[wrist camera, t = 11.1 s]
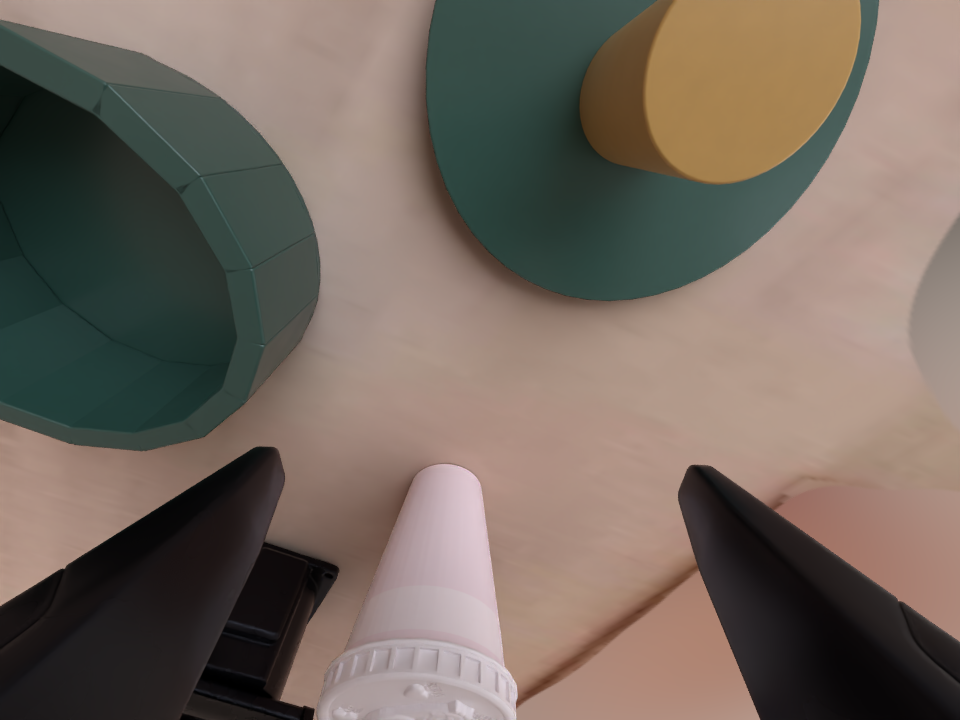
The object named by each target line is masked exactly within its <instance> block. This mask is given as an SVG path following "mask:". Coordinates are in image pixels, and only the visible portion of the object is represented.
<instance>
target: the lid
mask: <svg viewBox="0 0 960 720" xmlns="http://www.w3.org/2000/svg"><path fill="white" fill-rule="evenodd" d="M878 6H879V0H436V1H435V6H434V10H433V15H432V20H431V25H430V29H429V38H428V48H427V58H426V105H427V114H428V122H429V131H430V136H431V140H432V144H433V149H434V153H435V157H436V161H437V164H438V167H439V170H440V173H441V175H442V178H443V181H444V184H445V186H446V189H447V191H448V193H449V195H450V197H451V199H452V201H453V203H454V205H455V207H456V209H457V211H458V213H459V214H460V216H461V217H462V219H463V220H464V222H465V223H466V225H467V226H468V227H469V229H470V230H471V232H472V233H473V235H474V236H475V237H476V238H477V239H478V240H479V241H480V243H481V244H482V245H483V246H484V247H485V248H486V249H487V250H488V252H490V253H491V254H492V255H493V256H494V257H495V258H496V259H498V260H499V261H500V262H501V263H502V264H503V265H504V266H506V267H507V268H508V269H510V270H511V271H513V272H515V273H516V274H518V275H519V276H521V277H522V278H524V279H525V280H527V281H529V282H531V283H534V284H536V285H538V286H540V287H542V288H544V289H547V290H550V291H553V292H556V293H559V294H562V295H565V296H570V297H575V298H581V299H586V300H602V301H615V300H630V299H637V298H642V297H647V296H653V295H657V294H660V293H664V292H667V291H670V290H673V289H677V288H679V287H682V286H684V285H686V284H689V283H691V282H693V281H696V280H698V279H700V278H702V277H704V276H706V275H708V274H710V273H711V272H713V271H715V270H717V269H719V268H720V267H722V266H724V265H726V264H727V263H728V262H730V261H731V260H733V259H734V258H736V257H737V256H738V255H740V254H741V253H743V252H744V251H746V250H747V249H748V248H749V247H751V246H752V245H753V244H754V243H755V242H757V241H758V240H759V239H760V238H761V237H762V236H764V235H765V234H766V233H767V232H768V231H769V230H770V229H771V228H772V227H773V226H774V225H775V224H776V223H777V222H778V221H779V220H780V219H781V218H782V217H783V216H784V215H785V214H786V213H787V212H788V211H789V210H790V209H791V208H792V206H793V205H794V204H795V203H796V201H797V200H798V199H799V198H800V196H801V195H802V194H803V193H804V191H805V190H806V189H807V188H808V187H809V185H810V184H811V182H812V181H813V179H814V178H815V176H816V175H817V173H818V172H819V170H820V169H821V167H822V166H823V164H824V163H825V161H826V160H827V159H828V157H829V155H830V153H831V151H832V149H833V148H834V146H835V144H836V142H837V140H838V138H839V137H840V135H841V133H842V131H843V129H844V127H845V125H846V123H847V120H848V118H849V116H850V113H851V111H852V109H853V106H854V104H855V102H856V99H857V97H858V94H859V91H860V88H861V85H862V82H863V79H864V75H865V72H866V69H867V66H868V63H869V59H870V54H871V49H872V45H873V40H874V35H875V30H876V25H877V17H878Z"/></svg>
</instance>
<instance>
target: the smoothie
mask: <svg viewBox="0 0 960 720" xmlns="http://www.w3.org/2000/svg"><path fill="white" fill-rule="evenodd" d="M516 700H517V684H516V682H515V681H514V679H513V677H512V676H511V674H510V672H509V671H508V670H507V669H506V668H505V665H504V657H503V648H502V639H501V631H500V624H499V618H498V610H497V603H496V595H495V587H494V580H493V572H492V565H491V557H490V549H489V542H488V534H487V527H486V519H485V511H484V504H483V496H482V489H481V485H480V482H479V480H478V479H477V478H476V476H475V475H474V474H472V473H471V472H470V471H468V470H466V469H465V468H462V467H460V466H456V465H451V464H437V465H432V466H429V467H426V468H424V469H423V470H421V471H420V472H419V473H418V474H417V475H416V476H415V477H414V479H413V481H412V483H411V486H410V488H409V491H408V493H407V496H406V498H405V501H404V503H403V506H402V508H401V511H400V513H399V516H398V518H397V521H396V523H395V526H394V528H393V530H392V533H391V535H390V538H389V540H388V543H387V545H386V548H385V550H384V553H383V555H382V558H381V560H380V563H379V565H378V568H377V570H376V573H375V575H374V578H373V580H372V583H371V585H370V588H369V590H368V593H367V595H366V598H365V600H364V603H363V605H362V608H361V610H360V612H359V614H358V617H357V619H356V622H355V625H354V627H353V630H352V632H351V635H350V638H349V640H348V643H347V645H346V648H345V651H344V653H343V654H341V655H340V656H339V657H337V658H336V659H334V660H333V661H332V663H331V664H330V666H329V668H328V669H327V671H326V672H325V680H324V686H323V689H322V692H321V696H320V699H319V702H318V705H317V717H318V720H517V718H516Z"/></svg>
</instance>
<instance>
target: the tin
mask: <svg viewBox="0 0 960 720" xmlns="http://www.w3.org/2000/svg"><path fill="white" fill-rule="evenodd" d="M319 286H320V258H319V251H318V243H317V239H316V235H315V231H314V228H313V224H312V220H311V218H310V215H309V213H308V210H307V207H306V205H305V202H304V200H303V198H302V196H301V194H300V192H299V190H298V188H297V186H296V184H295V182H294V180H293V179H292V177H291V175H290V174H289V172H288V171H287V169H286V168H285V166H284V165H283V163H282V162H281V160H280V159H279V157H278V156H277V154H276V153H275V152H274V150H273V149H272V148H271V147H270V146H269V144H268V143H267V142H266V141H265V139H264V138H263V137H262V136H261V135H260V133H259V132H258V131H257V130H256V129H255V128H254V127H253V126H252V125H251V124H250V123H249V122H248V121H247V120H246V119H245V118H244V117H243V116H242V115H241V114H240V113H239V112H237V111H236V110H235V109H234V108H232V107H231V106H230V105H229V104H227V102H226V101H225V100H223V99H222V98H221V97H219V96H218V95H216V94H215V93H213V92H212V91H210V90H209V89H207V88H206V87H204V86H203V85H201V84H200V83H198V82H196V81H195V80H193V79H192V78H190V77H188V76H186V75H184V74H182V73H180V72H178V71H176V70H174V69H172V68H170V67H168V66H166V65H164V64H161V63H159V62H158V61H156V60H154V59H152V58H151V57H149V56H147V55H144V54H142V53H139V52H135V51H130V50H126V49H122V48H118V47H114V46H109V45H105V44H101V43H97V42H92V41H88V40H84V39H80V38H76V37H71V36H67V35H63V34H59V33H55V32H50V31H46V30H42V29H38V28H34V27H29V26H25V25H21V24H17V23H13V22H8V21H4V20H0V419H1V420H3V421H6V422H9V423H12V424H15V425H18V426H21V427H24V428H26V429H29V430H32V431H35V432H38V433H41V434H44V435H46V436H49V437H52V438H55V439H58V440H61V441H64V442H67V443H69V444H74V445H81V446H92V447H102V448H113V449H123V450H134V451H148V450H152V449H156V448H160V447H165V446H169V445H173V444H177V443H182V442H186V441H190V440H194V439H199V438H202V437H205V436H206V435H207V434H208V433H210V432H211V431H212V430H213V429H215V428H216V427H217V426H218V425H219V424H221V423H222V422H223V421H224V420H225V419H227V418H228V417H229V416H230V415H232V414H233V413H234V412H235V411H236V410H238V409H239V408H240V407H241V406H242V405H244V404H245V403H246V402H247V401H248V399H249V398H250V397H251V396H252V395H253V394H254V393H255V392H256V390H257V389H258V388H259V387H260V386H261V385H262V384H263V383H264V381H265V380H266V379H267V378H268V377H269V376H270V375H271V374H272V372H273V371H274V370H275V369H276V368H277V367H278V366H279V365H280V363H281V362H282V361H283V360H284V359H285V358H286V357H287V356H288V354H289V353H290V352H291V351H292V350H293V349H294V348H295V347H296V345H297V344H298V343H299V342H300V341H301V339H302V336H303V334H304V331H305V330H306V328H307V326H308V324H309V322H310V320H311V317H312V315H313V313H314V309H315V306H316V303H317V299H318V293H319Z"/></svg>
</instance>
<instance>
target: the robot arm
mask: <svg viewBox="0 0 960 720" xmlns="http://www.w3.org/2000/svg"><path fill="white" fill-rule="evenodd" d="M284 482H285V473H284V469H283V466H282V462H281V458H280V454H279V451H278V450H277V448H275V447H262V446H259V447H255V448H253V449H251V450H250V451H248V452H247V453H245V454H243V455H242V456H240V457H239V458H237V459H235V460H234V461H232V462H231V463H229V464H227V465H226V466H224V467H223V468H221V469H219V470H218V471H216V472H215V473H213V474H212V475H210V476H208V477H207V478H205V479H204V480H202V481H200V482H199V483H197V484H196V485H194V486H192V487H191V488H189V489H188V490H186V491H184V492H183V493H181V494H180V495H178V496H176V497H175V498H173V499H172V500H170V501H168V502H167V503H165V504H164V505H162V506H160V507H159V508H157V509H156V510H154V511H152V512H151V513H149V514H148V515H146V516H145V517H143V518H141V519H140V520H138V521H137V522H135V523H133V524H132V525H130V526H129V527H127V528H125V529H124V530H122V531H121V532H119V533H117V534H116V535H114V536H113V537H111V538H109V539H108V540H106V541H105V542H103V543H101V544H100V545H98V546H97V547H95V548H93V549H92V550H90V551H89V552H87V553H85V554H84V555H82V556H81V557H79V558H77V559H76V560H74V561H73V562H71V563H69V564H68V565H67V566H66V568H65V569H60V570H58V571H57V572H55V573H53V574H52V575H50V576H49V577H47V578H45V579H44V580H42V581H41V582H39V583H37V584H36V585H34V586H33V587H31V588H29V589H28V590H26V591H24V592H23V593H21V594H19V595H18V596H16V597H15V598H13V599H11V600H10V601H8V602H6V603H5V604H3V605H1V606H0V720H313V716H314V708H310V707H307V706H303V707H299V706H296V705H292V704H289V703H286V702H282V701H279V700H280V698H281V695H282V692H283V689H284V686H285V684H286V681H287V678H288V675H289V673H290V670H291V667H292V664H293V662H294V659H295V656H296V653H297V650H298V648H299V645H300V642H301V639H302V637H303V634H304V631H305V628H306V626H307V624H308V622H309V621H310V619H311V618H312V616H313V615H314V613H315V612H316V610H317V608H318V607H319V605H320V604H321V602H322V601H323V599H324V598H325V596H326V594H327V593H328V591H329V590H330V588H331V587H332V585H333V584H334V582H335V580H336V579H337V576H338V573H339V568H338V567H337V566H334V565H332V564H329V563H326V562H323V561H320V560H317V559H314V558H311V557H308V556H305V555H302V554H299V553H296V552H293V551H289V550H286V549H283V548H280V547H277V546H274V545H271V544H268V543H265V542H264V540H265V537H266V534H267V531H268V529H269V526H270V523H271V520H272V517H273V514H274V512H275V509H276V506H277V503H278V500H279V498H280V495H281V492H282V489H283V486H284ZM678 501H679V505H680V508H681V511H682V515H683V518H684V522H685V525H686V528H687V532H688V535H689V538H690V542H691V545H692V549H693V552H694V555H695V559H696V562H697V565H698V568H699V571H700V573H701V576H702V578H703V581H704V584H705V586H706V588H707V591H708V593H709V596H710V598H711V600H712V603H713V605H714V608H715V610H716V613H717V615H718V618H719V620H720V622H721V625H722V627H723V630H724V632H725V635H726V637H727V639H728V642H729V644H730V647H731V649H732V652H733V654H734V657H735V659H736V661H737V664H738V666H739V669H740V671H741V673H742V676H743V678H744V681H745V683H746V685H747V688H748V691H749V693H750V696H751V698H752V700H753V703H754V705H755V707H756V710H757V713H758V715H759V717H760V720H960V642H959V641H958V640H956V639H955V638H953V637H952V636H951V635H949V634H948V633H946V632H945V631H943V630H942V629H940V628H939V627H938V626H936V625H935V624H933V623H932V622H930V621H929V620H927V619H926V618H925V617H923V616H922V615H920V614H919V613H917V612H916V611H915V610H913V609H912V608H911V607H909V606H908V605H906V604H905V603H903V602H901V601H899V602H898V599H897V598H896V597H895V596H894V595H892V594H891V593H889V592H888V591H886V590H885V589H883V588H882V587H881V586H879V585H878V584H877V583H875V582H873V581H872V580H871V579H870V578H868V577H867V576H865V575H864V574H862V573H861V572H860V571H858V570H857V569H855V568H854V567H853V566H851V565H850V564H848V563H847V562H845V561H844V560H843V559H841V558H840V557H838V556H837V555H836V554H834V553H833V552H831V551H830V550H829V549H827V548H826V547H824V546H823V545H822V544H820V543H819V542H817V541H816V540H815V539H813V538H812V537H810V536H809V535H807V534H806V533H805V532H803V531H802V530H800V529H799V528H798V527H796V526H795V525H793V524H792V523H791V522H789V521H788V520H786V519H785V518H784V517H782V516H780V515H779V514H778V513H776V512H775V511H774V510H772V509H771V508H769V507H768V506H767V505H765V504H764V503H762V502H761V501H760V500H758V499H757V498H755V497H754V496H752V495H751V494H750V493H748V492H747V491H745V490H744V489H743V488H741V487H740V486H738V485H737V484H736V483H734V482H733V481H731V480H730V479H728V478H727V477H726V476H724V475H723V474H721V473H720V472H719V471H717V470H716V469H714V468H713V467H711V466H708V465H691V466H689V467H688V469H687V471H686V474H685V476H684V479H683V481H682V484H681V486H680V489H679V492H678Z"/></svg>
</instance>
